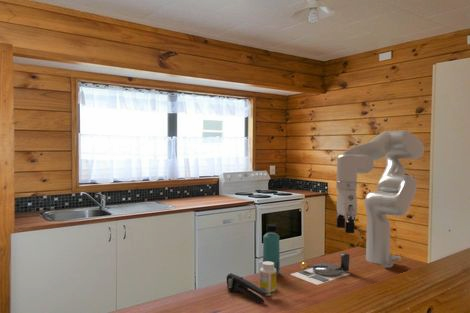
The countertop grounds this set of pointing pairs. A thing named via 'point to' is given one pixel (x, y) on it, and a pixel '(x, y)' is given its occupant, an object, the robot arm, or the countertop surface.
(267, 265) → the supplement bottle
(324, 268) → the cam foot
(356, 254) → the countertop surface
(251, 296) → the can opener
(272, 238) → the beverage bottle
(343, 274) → the stand
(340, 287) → the countertop surface
